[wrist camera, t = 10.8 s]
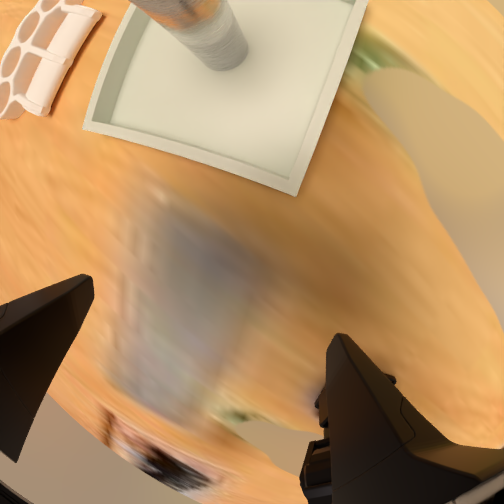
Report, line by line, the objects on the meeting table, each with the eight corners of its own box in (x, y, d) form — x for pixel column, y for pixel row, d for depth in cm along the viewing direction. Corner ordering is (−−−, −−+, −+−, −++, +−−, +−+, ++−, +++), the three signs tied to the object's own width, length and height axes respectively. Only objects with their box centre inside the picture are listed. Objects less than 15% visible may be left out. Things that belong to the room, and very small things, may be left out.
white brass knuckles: (44, 144, 22) (-2, 104, 21) (128, -8, 16) (60, -15, 15) (21, 146, 19) (-20, 105, 18) (111, -21, 12) (45, -22, 11)
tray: (364, 5, 14) (372, -12, 11) (295, 191, 20) (295, 197, 17) (173, -30, 14) (160, -45, 11) (103, 130, 20) (82, 129, 17)
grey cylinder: (262, 51, 16) (216, -67, 4) (218, 83, 17) (117, 2, 5) (229, 20, 16) (159, -88, 3) (188, 51, 17) (80, -29, 5)
